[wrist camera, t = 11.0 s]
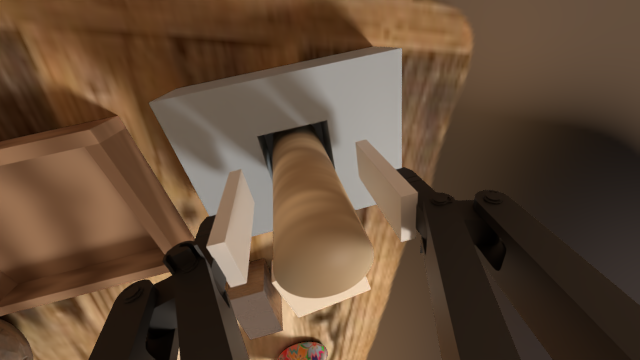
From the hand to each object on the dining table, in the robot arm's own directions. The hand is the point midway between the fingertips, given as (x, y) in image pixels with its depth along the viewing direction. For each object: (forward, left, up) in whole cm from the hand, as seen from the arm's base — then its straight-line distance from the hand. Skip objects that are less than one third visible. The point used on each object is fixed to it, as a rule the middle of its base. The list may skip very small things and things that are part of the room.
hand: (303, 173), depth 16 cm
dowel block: (0, 0, -7) cm, 7 cm away
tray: (-22, -2, -7) cm, 23 cm away
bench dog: (-9, -18, -7) cm, 21 cm away
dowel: (0, 0, -6) cm, 6 cm away
